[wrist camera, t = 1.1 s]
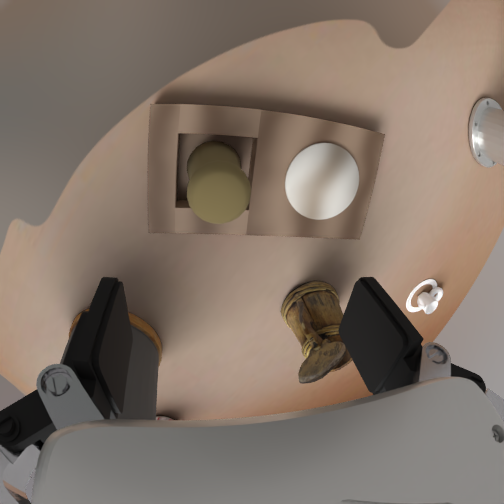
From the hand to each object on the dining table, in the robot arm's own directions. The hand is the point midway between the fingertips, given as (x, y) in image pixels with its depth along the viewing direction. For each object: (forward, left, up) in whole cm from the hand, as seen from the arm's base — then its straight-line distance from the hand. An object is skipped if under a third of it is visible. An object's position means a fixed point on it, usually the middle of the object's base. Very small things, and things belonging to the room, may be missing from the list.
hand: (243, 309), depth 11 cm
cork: (0, 0, -24) cm, 24 cm away
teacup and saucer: (-42, +22, -24) cm, 53 cm away
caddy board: (-6, 0, -23) cm, 24 cm away
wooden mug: (-14, +18, -24) cm, 33 cm away
